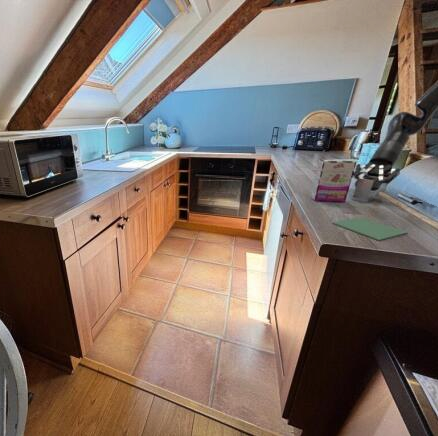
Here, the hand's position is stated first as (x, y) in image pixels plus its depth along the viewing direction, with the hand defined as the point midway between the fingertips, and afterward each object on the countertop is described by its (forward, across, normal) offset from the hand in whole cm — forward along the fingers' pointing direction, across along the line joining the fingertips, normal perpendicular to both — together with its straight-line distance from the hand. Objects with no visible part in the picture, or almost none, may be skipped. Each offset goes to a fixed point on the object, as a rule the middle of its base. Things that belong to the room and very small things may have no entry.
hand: (365, 188), depth 98 cm
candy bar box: (+11, +8, +4) cm, 14 cm away
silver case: (+2, 0, -5) cm, 5 cm away
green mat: (+25, -12, +18) cm, 33 cm away
